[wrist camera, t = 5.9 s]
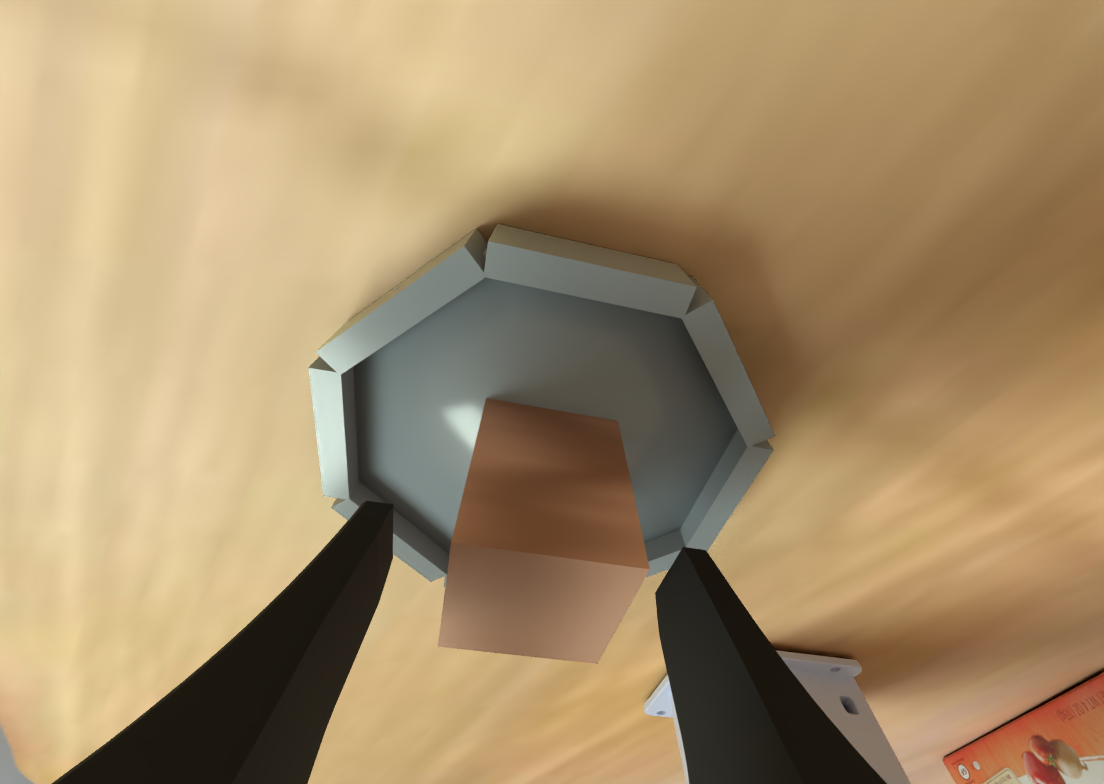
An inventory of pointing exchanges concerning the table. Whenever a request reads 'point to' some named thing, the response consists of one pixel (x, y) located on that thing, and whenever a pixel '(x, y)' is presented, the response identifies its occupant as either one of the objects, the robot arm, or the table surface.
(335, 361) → the dish
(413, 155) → the table surface
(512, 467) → the block
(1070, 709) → the cracker box
